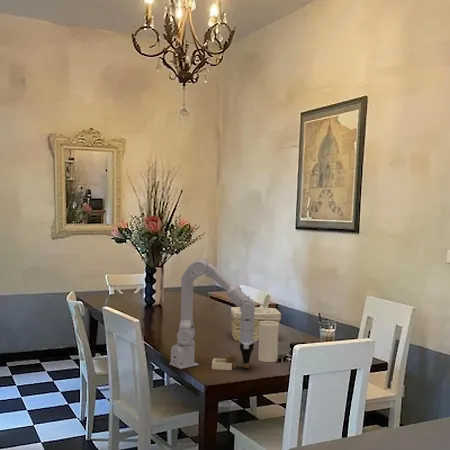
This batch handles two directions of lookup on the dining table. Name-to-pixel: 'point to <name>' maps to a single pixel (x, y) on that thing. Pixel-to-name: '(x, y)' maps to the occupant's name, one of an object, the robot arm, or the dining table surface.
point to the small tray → (221, 364)
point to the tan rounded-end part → (235, 361)
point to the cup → (268, 341)
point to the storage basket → (259, 316)
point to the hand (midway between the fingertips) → (246, 362)
